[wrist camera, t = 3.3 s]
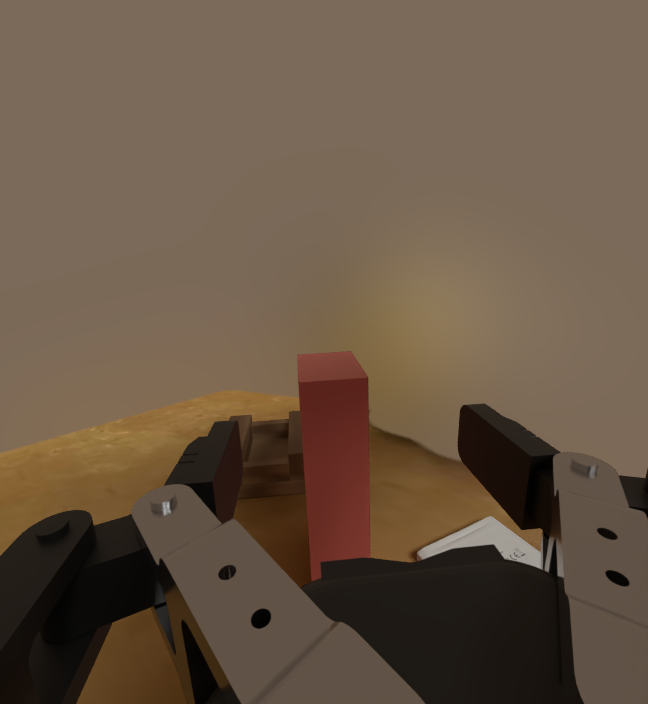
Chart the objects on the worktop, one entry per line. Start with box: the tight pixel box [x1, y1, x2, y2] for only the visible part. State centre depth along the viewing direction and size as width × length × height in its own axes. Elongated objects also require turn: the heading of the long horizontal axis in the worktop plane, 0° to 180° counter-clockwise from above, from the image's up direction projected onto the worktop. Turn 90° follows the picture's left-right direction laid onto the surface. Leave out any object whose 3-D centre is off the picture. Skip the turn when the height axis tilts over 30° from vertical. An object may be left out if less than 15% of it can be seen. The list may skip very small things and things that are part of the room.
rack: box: [229, 411, 306, 499], centre depth 39 cm, size 13×11×4 cm
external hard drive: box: [417, 517, 541, 569], centre depth 22 cm, size 2×8×12 cm
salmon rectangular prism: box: [297, 351, 370, 581], centre depth 24 cm, size 4×6×16 cm, turn 5°
